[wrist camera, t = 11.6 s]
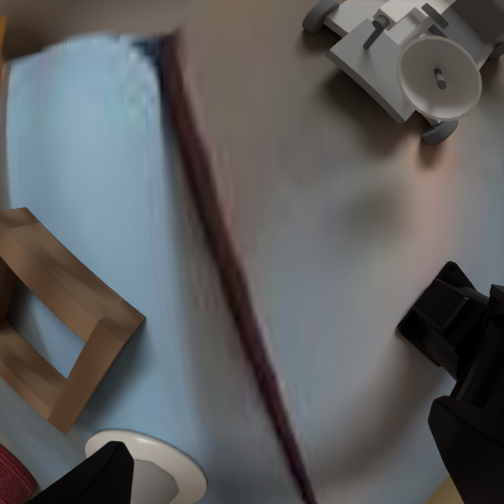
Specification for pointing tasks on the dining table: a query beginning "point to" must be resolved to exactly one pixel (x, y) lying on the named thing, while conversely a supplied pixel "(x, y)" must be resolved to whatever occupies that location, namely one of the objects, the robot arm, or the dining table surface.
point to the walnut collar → (67, 310)
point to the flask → (152, 484)
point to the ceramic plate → (158, 460)
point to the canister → (14, 480)
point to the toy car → (415, 53)
